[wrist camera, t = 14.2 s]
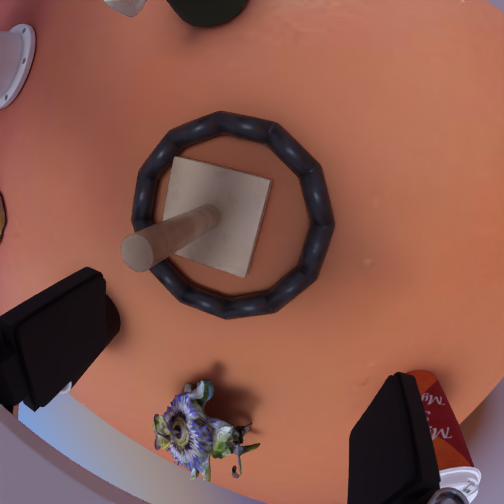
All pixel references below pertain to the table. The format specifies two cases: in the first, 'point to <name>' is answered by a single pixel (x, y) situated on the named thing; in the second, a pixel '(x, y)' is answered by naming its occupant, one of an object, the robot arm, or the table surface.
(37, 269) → the table surface
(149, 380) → the table surface
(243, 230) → the post
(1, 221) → the bread roll
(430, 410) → the paper cup
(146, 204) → the ring
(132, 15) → the white handled cup
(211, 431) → the passion flower
